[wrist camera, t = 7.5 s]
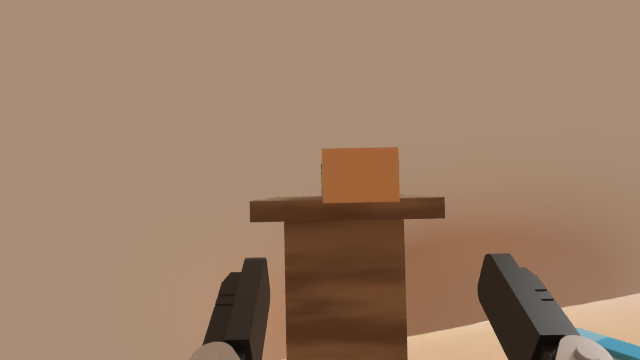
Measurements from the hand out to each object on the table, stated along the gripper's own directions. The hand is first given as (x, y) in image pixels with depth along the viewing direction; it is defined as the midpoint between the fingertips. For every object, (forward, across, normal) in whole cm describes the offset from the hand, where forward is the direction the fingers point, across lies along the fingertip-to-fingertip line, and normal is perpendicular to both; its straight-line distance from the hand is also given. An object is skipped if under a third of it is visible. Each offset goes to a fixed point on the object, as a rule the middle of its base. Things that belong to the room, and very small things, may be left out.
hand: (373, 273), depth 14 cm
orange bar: (+14, 0, +6) cm, 16 cm away
